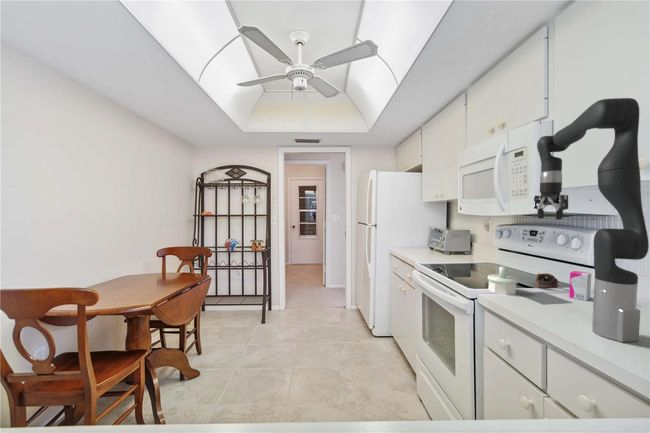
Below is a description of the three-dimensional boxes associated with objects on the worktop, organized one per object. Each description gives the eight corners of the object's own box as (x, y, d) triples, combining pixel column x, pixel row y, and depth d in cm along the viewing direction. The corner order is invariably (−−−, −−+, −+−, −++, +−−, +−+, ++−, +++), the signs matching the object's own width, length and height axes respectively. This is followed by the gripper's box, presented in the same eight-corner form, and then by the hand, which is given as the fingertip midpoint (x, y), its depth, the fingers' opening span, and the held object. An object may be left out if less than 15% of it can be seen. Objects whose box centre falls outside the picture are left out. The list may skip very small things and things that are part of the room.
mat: (573, 303, 114) (573, 302, 114) (542, 305, 112) (542, 304, 112) (542, 292, 128) (542, 291, 128) (514, 294, 126) (514, 293, 126)
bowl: (521, 295, 125) (522, 283, 125) (500, 296, 124) (500, 284, 123) (503, 287, 136) (503, 276, 135) (483, 288, 134) (483, 277, 134)
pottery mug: (566, 292, 130) (562, 278, 128) (546, 300, 132) (541, 286, 130) (547, 279, 142) (543, 266, 140) (528, 286, 143) (524, 273, 141)
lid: (525, 283, 124) (525, 269, 124) (500, 284, 123) (501, 270, 122) (504, 276, 136) (504, 263, 136) (481, 277, 134) (482, 264, 134)
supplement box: (590, 299, 120) (591, 272, 119) (586, 302, 116) (587, 274, 116) (573, 295, 124) (574, 270, 124) (568, 298, 121) (569, 272, 120)
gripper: (574, 180, 116) (573, 219, 117) (543, 183, 130) (542, 218, 131) (559, 180, 115) (557, 220, 116) (529, 183, 129) (527, 218, 130)
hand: (549, 218), depth 123 cm, fingers open, 8 cm apart
